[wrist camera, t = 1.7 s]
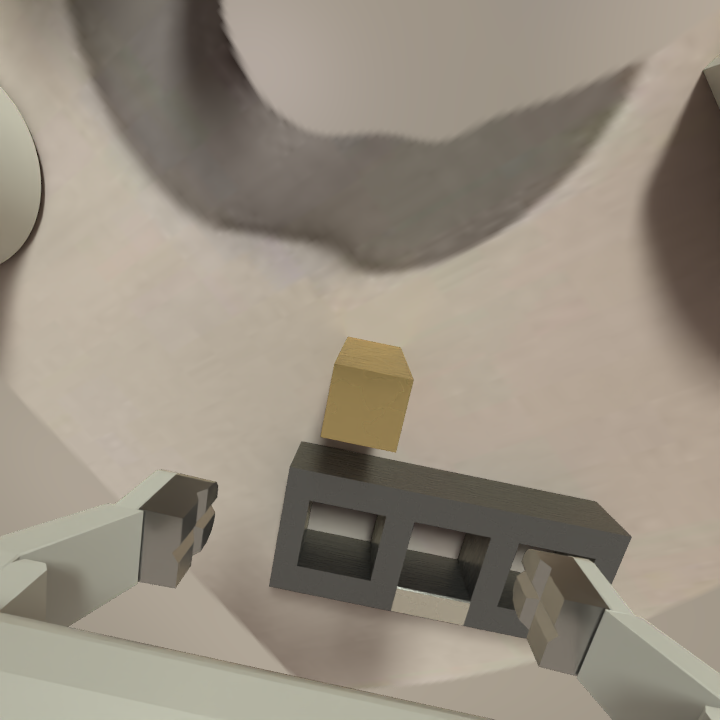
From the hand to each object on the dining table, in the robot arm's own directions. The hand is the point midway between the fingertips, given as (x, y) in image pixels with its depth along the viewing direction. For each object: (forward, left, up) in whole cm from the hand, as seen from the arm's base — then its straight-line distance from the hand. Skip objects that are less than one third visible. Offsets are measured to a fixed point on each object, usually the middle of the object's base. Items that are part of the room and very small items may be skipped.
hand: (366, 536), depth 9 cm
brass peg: (0, 0, -18) cm, 18 cm away
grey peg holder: (+8, -12, -18) cm, 23 cm away
